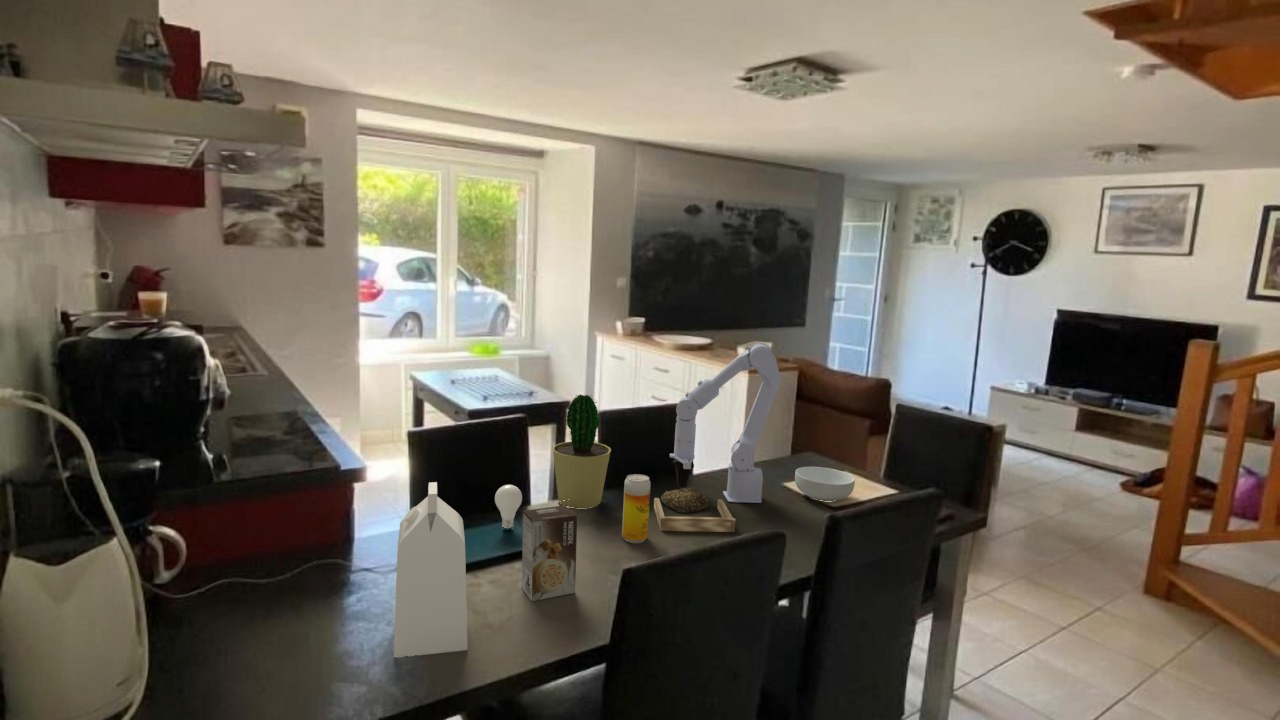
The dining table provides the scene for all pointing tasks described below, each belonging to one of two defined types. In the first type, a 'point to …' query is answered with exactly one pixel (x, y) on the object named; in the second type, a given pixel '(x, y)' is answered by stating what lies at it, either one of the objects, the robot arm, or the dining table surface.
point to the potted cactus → (581, 457)
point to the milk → (430, 580)
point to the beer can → (636, 508)
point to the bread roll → (685, 500)
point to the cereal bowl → (824, 483)
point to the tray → (696, 520)
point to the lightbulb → (508, 503)
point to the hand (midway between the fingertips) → (681, 486)
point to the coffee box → (549, 552)
